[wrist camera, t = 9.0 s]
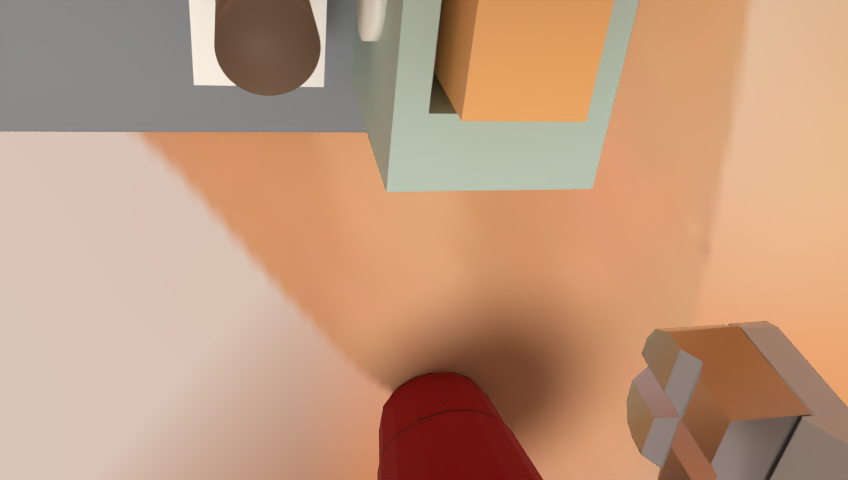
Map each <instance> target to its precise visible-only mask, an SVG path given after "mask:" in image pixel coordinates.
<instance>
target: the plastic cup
mask: <svg viewBox="0 0 848 480" xmlns="http://www.w3.org/2000/svg"><path fill="white" fill-rule="evenodd" d="M378 480H543V479H542V477H541V476H540V474H539V473H538V471H537V470H536V468H535V466H534V465H533V463H532V462H531V460H530V459H529V457H528V456H527V454H526V452H525V451H524V449H523V448H522V446H521V445H520V443H519V442H518V440H517V439H516V437H515V435H514V434H513V432H512V431H511V429H510V428H509V427H508V426H506V425H505V423H504V422H503V420H502V418H501V417H500V415H499V414H498V412H497V410H496V409H495V407H494V406H493V404H492V402H491V401H490V399H489V398H488V396H487V395H486V394H485V393H484V392H483V391H482V390H481V388H479V387H478V386H477V385H476V384H475V383H474V382H473V381H472V380H471V379H470V378H468V377H464V376H461V375H458V374H455V373H430V374H427V375H424V376H421V377H418V378H415V379H412V380H410V381H408V382H407V383H406V384H404V385H403V386H401V387H400V388H398V389H397V390H396V391H394V392H393V394H392V395H391V396H390V398H389V399H388V401H387V402H386V403H385V405H384V406H383V413H382V417H381V423H380V429H379V469H378Z"/></svg>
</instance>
